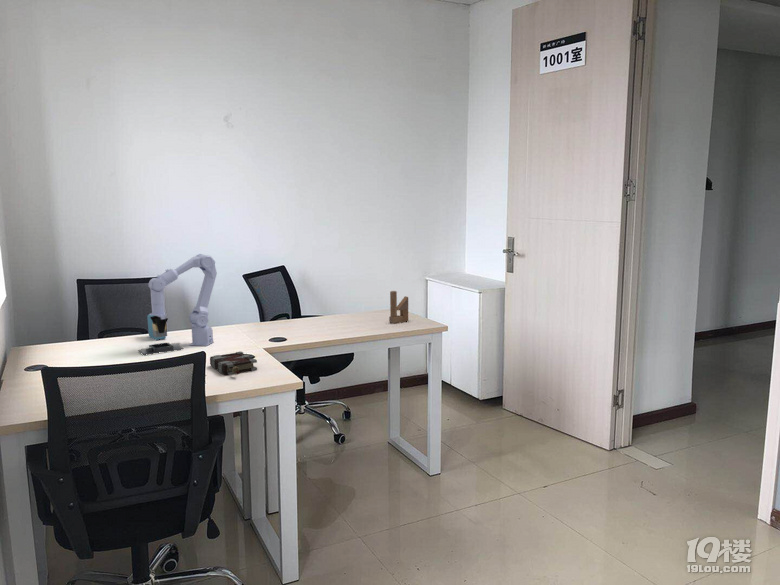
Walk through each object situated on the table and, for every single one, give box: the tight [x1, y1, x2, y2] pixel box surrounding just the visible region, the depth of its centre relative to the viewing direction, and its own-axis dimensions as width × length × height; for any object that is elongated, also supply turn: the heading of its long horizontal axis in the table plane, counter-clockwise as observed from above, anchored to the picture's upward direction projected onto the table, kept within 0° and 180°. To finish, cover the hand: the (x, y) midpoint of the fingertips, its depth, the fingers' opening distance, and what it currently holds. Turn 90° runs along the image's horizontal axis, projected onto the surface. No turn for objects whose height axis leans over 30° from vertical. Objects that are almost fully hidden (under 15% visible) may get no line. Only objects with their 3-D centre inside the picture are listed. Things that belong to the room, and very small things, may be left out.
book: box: [209, 351, 258, 376], centre depth 269 cm, size 15×25×5 cm, turn 34°
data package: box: [146, 313, 167, 341], centre depth 328 cm, size 12×4×12 cm, turn 40°
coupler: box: [152, 323, 168, 337], centre depth 303 cm, size 5×5×6 cm
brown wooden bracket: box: [388, 290, 409, 324], centre depth 360 cm, size 4×11×18 cm, turn 122°
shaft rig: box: [137, 342, 184, 356], centre depth 304 cm, size 18×10×2 cm, turn 125°
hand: (159, 331), depth 303 cm, fingers closed on coupler, 5 cm apart
